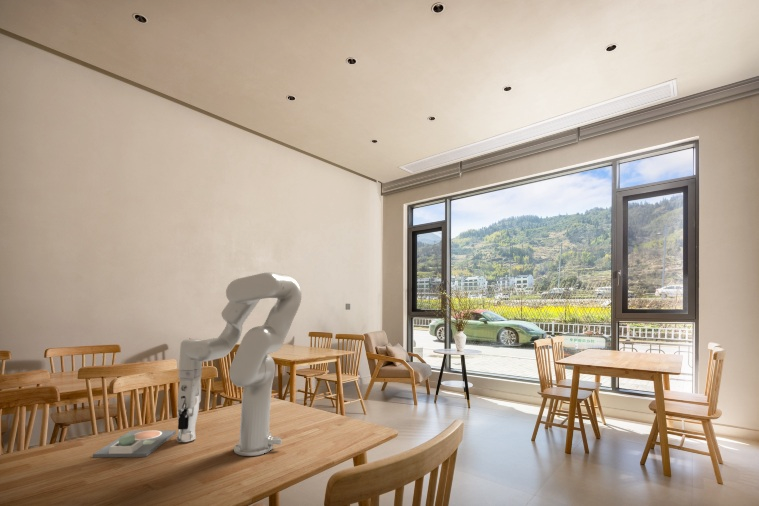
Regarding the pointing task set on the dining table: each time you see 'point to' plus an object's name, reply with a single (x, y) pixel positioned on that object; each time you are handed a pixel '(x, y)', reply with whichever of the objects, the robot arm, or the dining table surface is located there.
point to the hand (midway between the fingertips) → (187, 425)
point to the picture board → (136, 444)
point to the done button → (126, 439)
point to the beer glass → (189, 423)
